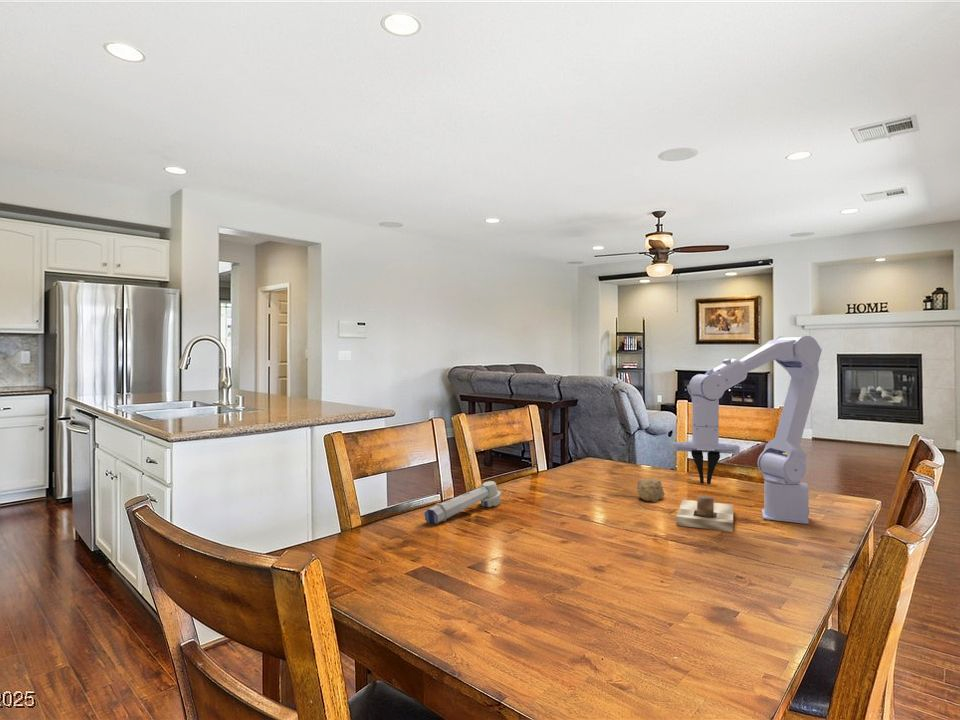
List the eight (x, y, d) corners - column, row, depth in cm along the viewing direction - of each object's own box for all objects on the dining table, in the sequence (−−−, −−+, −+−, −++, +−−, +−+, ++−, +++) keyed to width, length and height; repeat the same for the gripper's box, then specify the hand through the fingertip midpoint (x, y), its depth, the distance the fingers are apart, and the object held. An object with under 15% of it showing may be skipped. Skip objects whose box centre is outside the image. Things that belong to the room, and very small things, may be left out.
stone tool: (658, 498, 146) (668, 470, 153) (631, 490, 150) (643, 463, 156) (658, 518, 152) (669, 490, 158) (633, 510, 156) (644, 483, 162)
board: (733, 512, 139) (733, 504, 139) (732, 531, 125) (732, 523, 125) (682, 507, 144) (682, 499, 144) (676, 524, 130) (676, 516, 130)
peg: (713, 521, 132) (713, 496, 132) (714, 526, 129) (714, 500, 129) (696, 519, 134) (696, 494, 134) (697, 524, 130) (697, 498, 130)
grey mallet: (421, 506, 132) (488, 474, 151) (424, 533, 133) (490, 498, 152) (437, 511, 129) (503, 477, 148) (440, 538, 130) (505, 501, 148)
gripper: (737, 424, 132) (737, 481, 133) (672, 422, 137) (672, 477, 137) (740, 428, 126) (740, 488, 126) (672, 425, 130) (672, 483, 131)
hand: (705, 483), depth 131 cm, fingers closed
